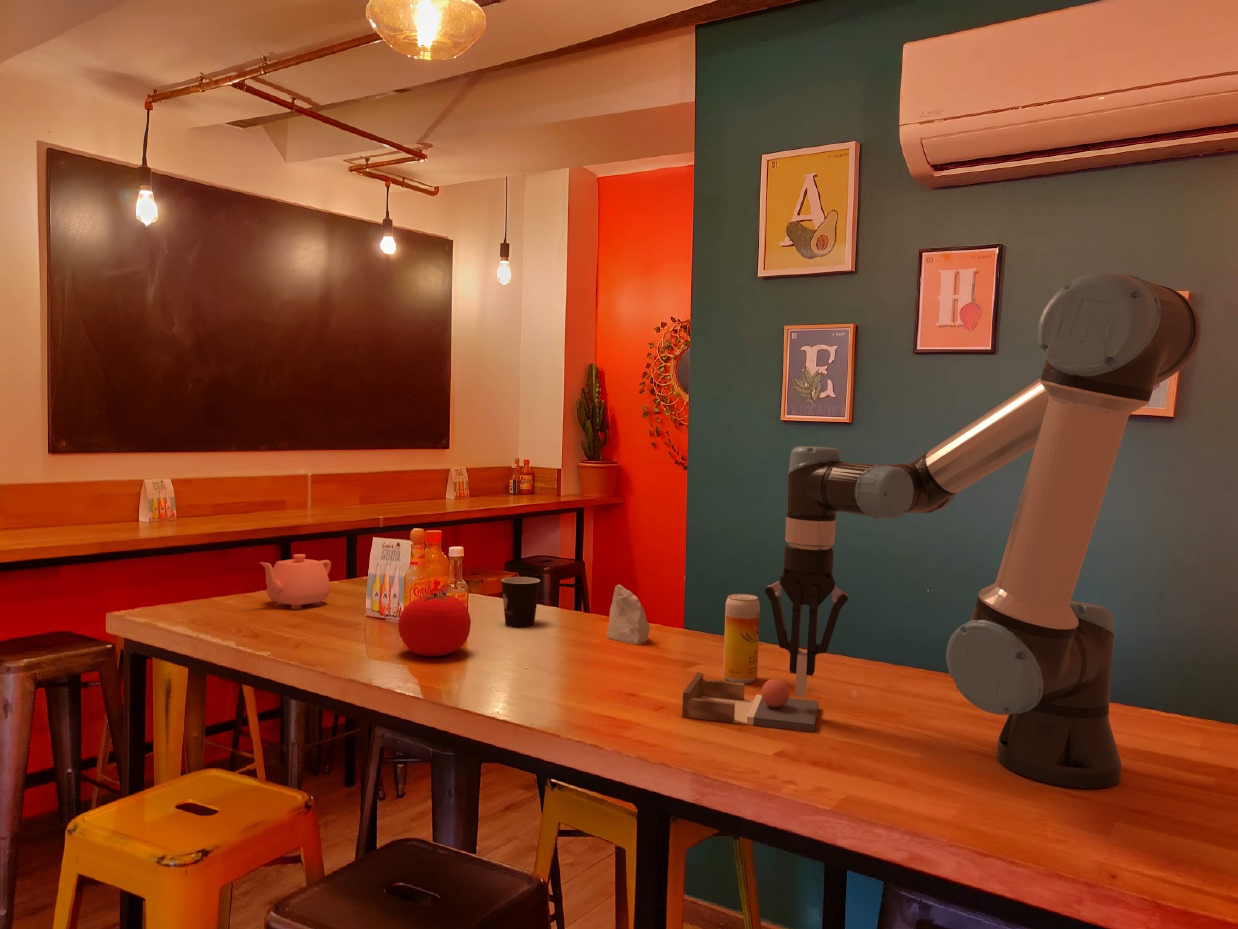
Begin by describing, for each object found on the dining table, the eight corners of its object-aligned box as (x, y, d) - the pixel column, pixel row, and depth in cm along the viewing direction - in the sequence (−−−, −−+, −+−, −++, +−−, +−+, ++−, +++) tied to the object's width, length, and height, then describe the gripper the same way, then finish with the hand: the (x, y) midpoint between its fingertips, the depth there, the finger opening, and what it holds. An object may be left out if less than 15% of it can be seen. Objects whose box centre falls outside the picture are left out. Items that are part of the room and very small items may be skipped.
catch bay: (744, 700, 145) (744, 677, 145) (733, 722, 134) (734, 698, 134) (696, 694, 147) (697, 672, 147) (682, 716, 136) (682, 692, 136)
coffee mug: (536, 629, 192) (537, 584, 191) (497, 628, 192) (498, 583, 191) (542, 618, 203) (543, 575, 203) (505, 617, 203) (506, 574, 203)
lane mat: (818, 708, 142) (818, 701, 142) (813, 732, 130) (814, 724, 130) (696, 694, 147) (697, 687, 147) (682, 716, 136) (682, 709, 136)
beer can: (756, 685, 154) (759, 601, 153) (721, 682, 155) (724, 598, 155) (757, 676, 160) (760, 594, 159) (724, 673, 161) (727, 592, 160)
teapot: (241, 608, 205) (242, 556, 204) (312, 595, 222) (313, 548, 221) (277, 616, 198) (278, 562, 197) (348, 602, 214) (348, 553, 214)
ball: (790, 675, 138) (763, 671, 139) (786, 698, 134) (758, 693, 136) (791, 692, 140) (764, 689, 142) (787, 715, 137) (759, 711, 138)
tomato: (449, 665, 161) (450, 602, 160) (385, 657, 165) (386, 596, 165) (482, 649, 173) (483, 591, 173) (421, 642, 177) (423, 585, 177)
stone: (651, 643, 183) (653, 588, 182) (632, 646, 179) (635, 590, 179) (619, 633, 190) (621, 580, 190) (601, 636, 187) (603, 582, 187)
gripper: (853, 546, 138) (844, 693, 139) (770, 539, 142) (762, 682, 143) (851, 552, 131) (842, 707, 132) (764, 545, 134) (755, 695, 136)
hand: (800, 694), depth 137 cm, fingers closed
